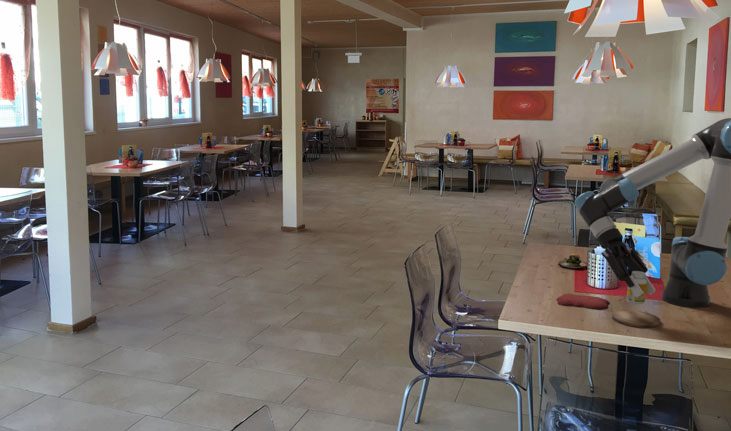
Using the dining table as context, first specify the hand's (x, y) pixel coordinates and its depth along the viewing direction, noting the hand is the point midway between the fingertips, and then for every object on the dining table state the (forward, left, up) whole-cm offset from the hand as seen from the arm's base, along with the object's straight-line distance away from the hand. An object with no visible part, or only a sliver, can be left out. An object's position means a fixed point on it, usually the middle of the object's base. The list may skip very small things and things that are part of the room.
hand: (646, 294), depth 193 cm
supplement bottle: (+1, -3, -4) cm, 5 cm away
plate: (0, -3, -9) cm, 10 cm away
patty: (+5, -24, -10) cm, 27 cm away
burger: (-23, -72, -10) cm, 76 cm away
